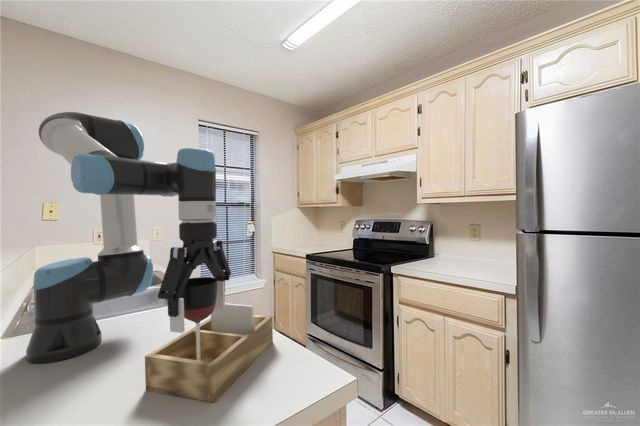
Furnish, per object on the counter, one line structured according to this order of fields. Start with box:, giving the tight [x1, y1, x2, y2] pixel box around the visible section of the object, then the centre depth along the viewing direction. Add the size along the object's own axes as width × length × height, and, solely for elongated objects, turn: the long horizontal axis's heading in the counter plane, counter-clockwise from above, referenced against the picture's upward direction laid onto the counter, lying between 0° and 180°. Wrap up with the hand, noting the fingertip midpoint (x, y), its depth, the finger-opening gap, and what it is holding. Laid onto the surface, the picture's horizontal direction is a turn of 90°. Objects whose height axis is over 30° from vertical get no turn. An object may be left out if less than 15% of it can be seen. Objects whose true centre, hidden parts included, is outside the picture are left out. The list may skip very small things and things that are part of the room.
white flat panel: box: [210, 302, 255, 335], centre depth 76 cm, size 12×1×11 cm, turn 74°
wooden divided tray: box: [144, 314, 274, 404], centre depth 70 cm, size 16×26×7 cm, turn 164°
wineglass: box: [174, 276, 217, 361], centre depth 63 cm, size 8×9×20 cm
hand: (200, 318), depth 64 cm, fingers open, 13 cm apart
